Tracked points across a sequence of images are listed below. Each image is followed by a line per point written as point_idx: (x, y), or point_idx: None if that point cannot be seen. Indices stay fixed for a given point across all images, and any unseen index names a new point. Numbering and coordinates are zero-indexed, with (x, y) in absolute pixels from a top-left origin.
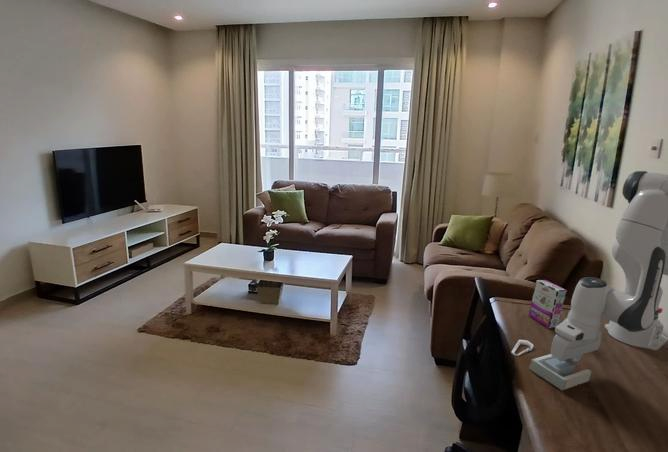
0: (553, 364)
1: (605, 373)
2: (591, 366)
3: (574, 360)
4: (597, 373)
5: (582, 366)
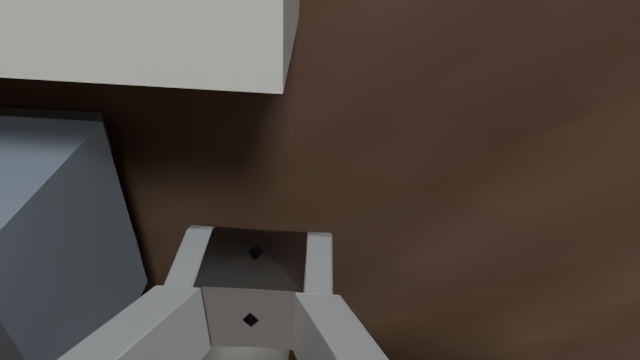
0: None
1: (585, 334)
2: (632, 241)
3: (293, 324)
4: (515, 312)
5: (534, 204)
